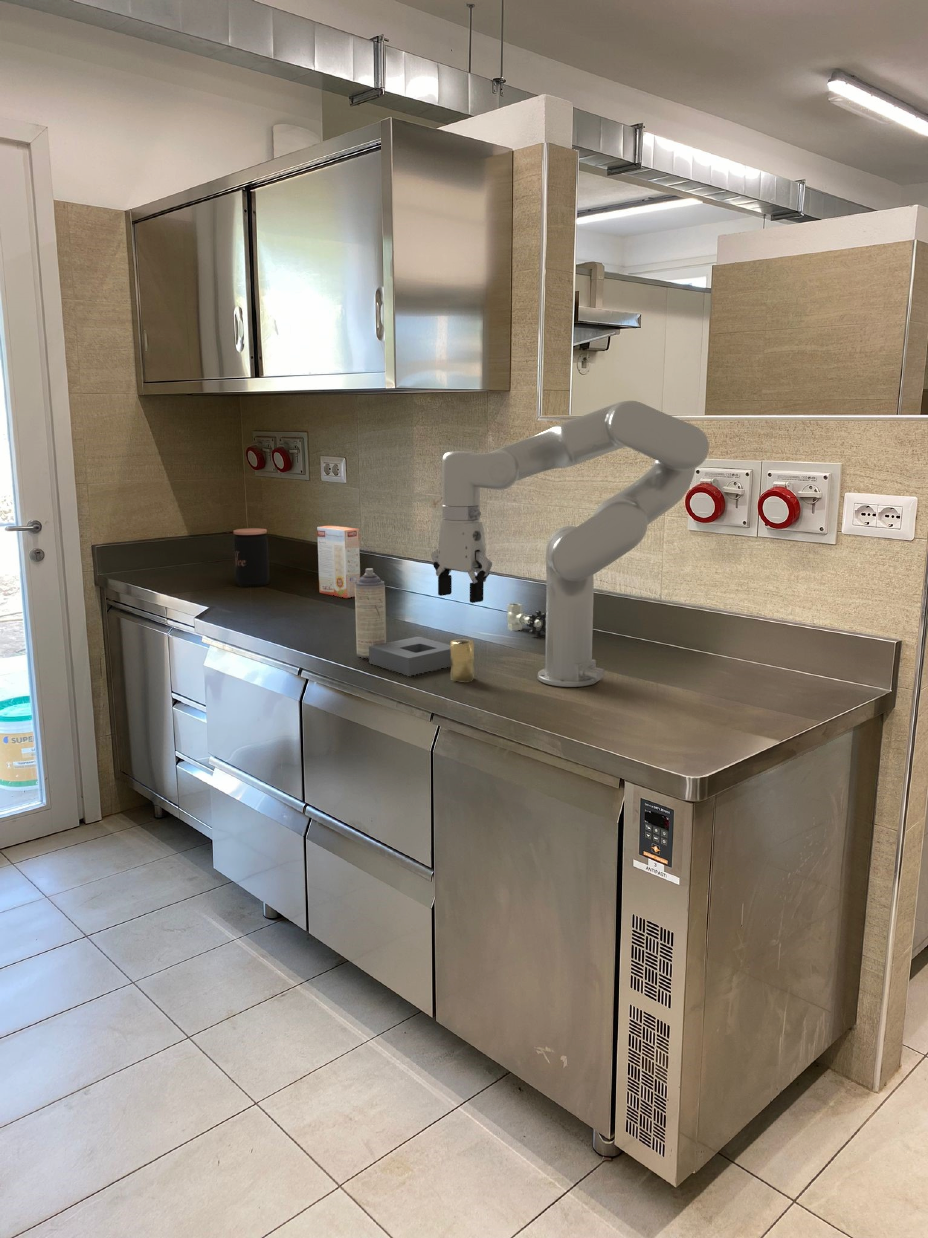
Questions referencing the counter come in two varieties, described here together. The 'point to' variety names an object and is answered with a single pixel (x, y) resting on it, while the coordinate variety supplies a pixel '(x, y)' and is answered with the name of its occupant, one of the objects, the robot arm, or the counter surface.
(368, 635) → the aerosol can
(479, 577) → the robot arm
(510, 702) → the counter surface
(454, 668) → the brass bushing
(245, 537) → the coffee jar
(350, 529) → the cracker box
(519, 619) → the valve
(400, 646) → the block
